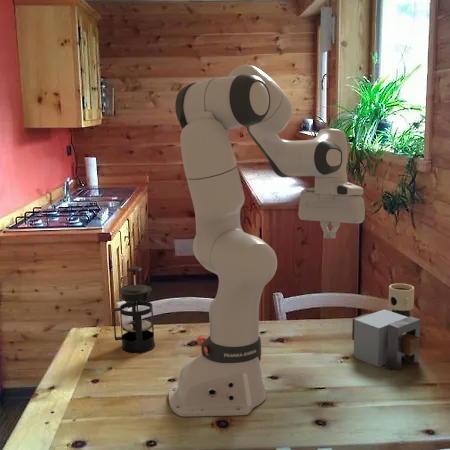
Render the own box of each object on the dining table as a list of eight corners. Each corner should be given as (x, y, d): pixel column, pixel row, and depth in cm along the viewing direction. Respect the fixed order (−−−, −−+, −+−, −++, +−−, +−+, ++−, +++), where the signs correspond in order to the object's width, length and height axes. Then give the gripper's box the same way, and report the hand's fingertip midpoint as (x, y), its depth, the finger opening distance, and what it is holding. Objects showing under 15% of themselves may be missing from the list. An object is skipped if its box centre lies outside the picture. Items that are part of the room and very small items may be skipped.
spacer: (386, 367, 147) (388, 324, 144) (408, 357, 152) (410, 316, 150) (396, 371, 144) (398, 327, 142) (418, 361, 150) (420, 319, 147)
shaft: (352, 339, 157) (352, 318, 156) (366, 334, 161) (367, 313, 159) (407, 361, 143) (408, 338, 142) (421, 354, 147) (423, 332, 145)
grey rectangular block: (353, 356, 153) (354, 319, 151) (383, 345, 160) (384, 309, 158) (377, 367, 147) (379, 328, 145) (407, 354, 154) (409, 317, 152)
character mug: (382, 322, 177) (383, 281, 174) (405, 321, 177) (406, 280, 175) (394, 336, 166) (395, 293, 164) (418, 335, 167) (420, 292, 164)
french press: (155, 338, 169) (151, 261, 164) (159, 351, 160) (155, 270, 155) (114, 343, 166) (109, 265, 162) (116, 356, 157) (111, 274, 153)
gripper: (294, 187, 166) (293, 235, 167) (355, 188, 152) (354, 241, 153) (307, 187, 171) (306, 234, 172) (368, 188, 156) (367, 239, 157)
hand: (329, 237), depth 162 cm, fingers closed
